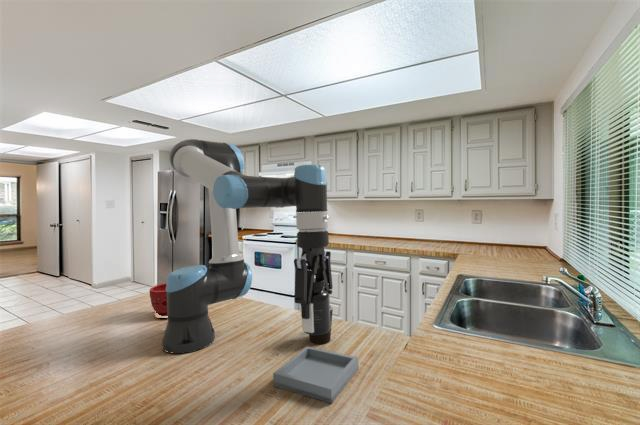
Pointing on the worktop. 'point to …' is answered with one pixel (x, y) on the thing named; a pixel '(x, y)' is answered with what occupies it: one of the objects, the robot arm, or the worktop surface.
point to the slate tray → (316, 373)
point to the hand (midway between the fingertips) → (316, 325)
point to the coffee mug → (324, 337)
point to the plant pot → (160, 303)
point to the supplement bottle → (320, 307)
